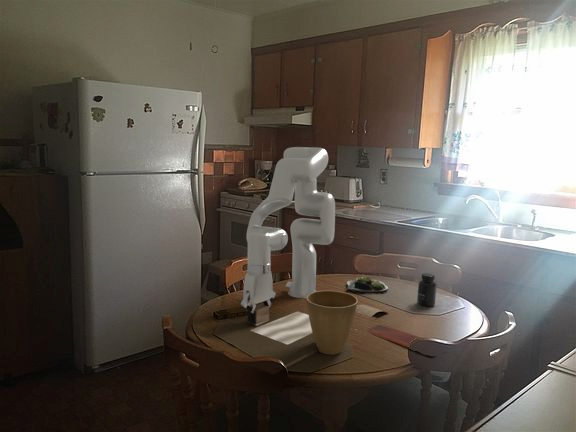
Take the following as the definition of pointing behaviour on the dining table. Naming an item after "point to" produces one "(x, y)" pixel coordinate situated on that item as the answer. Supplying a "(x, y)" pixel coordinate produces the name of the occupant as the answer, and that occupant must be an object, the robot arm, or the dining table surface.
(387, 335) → the wooden tablet
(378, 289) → the salad plate
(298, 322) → the white flat rectangle
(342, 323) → the plant pot
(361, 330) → the dining table surface
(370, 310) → the clay tablet
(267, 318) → the sanding block
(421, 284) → the supplement bottle
